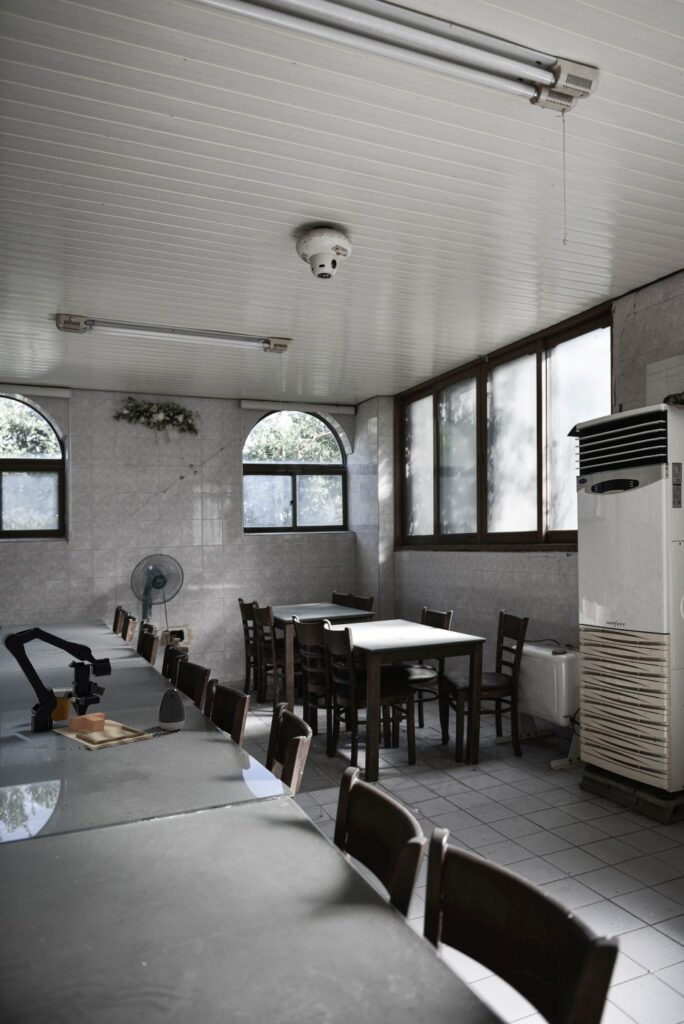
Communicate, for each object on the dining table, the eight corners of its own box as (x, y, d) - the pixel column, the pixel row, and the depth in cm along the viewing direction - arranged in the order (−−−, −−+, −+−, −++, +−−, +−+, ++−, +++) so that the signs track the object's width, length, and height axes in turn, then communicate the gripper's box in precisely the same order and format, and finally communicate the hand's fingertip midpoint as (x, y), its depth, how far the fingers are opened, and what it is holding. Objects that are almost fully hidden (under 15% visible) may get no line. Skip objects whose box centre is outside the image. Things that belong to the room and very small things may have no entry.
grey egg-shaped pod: (157, 733, 260) (157, 691, 261) (157, 727, 270) (157, 686, 271) (186, 731, 263) (186, 689, 264) (185, 725, 273) (185, 684, 274)
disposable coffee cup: (77, 717, 288) (77, 687, 288) (65, 723, 278) (66, 691, 279) (54, 717, 289) (54, 687, 289) (42, 723, 279) (42, 691, 280)
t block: (82, 734, 257) (82, 723, 257) (68, 728, 266) (68, 717, 266) (114, 728, 265) (114, 717, 265) (99, 723, 274) (99, 712, 274)
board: (92, 750, 240) (92, 744, 240) (51, 732, 264) (51, 727, 264) (152, 737, 255) (152, 732, 255) (108, 722, 279) (108, 717, 280)
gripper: (113, 678, 271) (113, 721, 271) (91, 673, 285) (91, 713, 284) (84, 682, 264) (84, 726, 263) (63, 676, 277) (63, 718, 276)
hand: (81, 720), depth 272 cm, fingers closed
